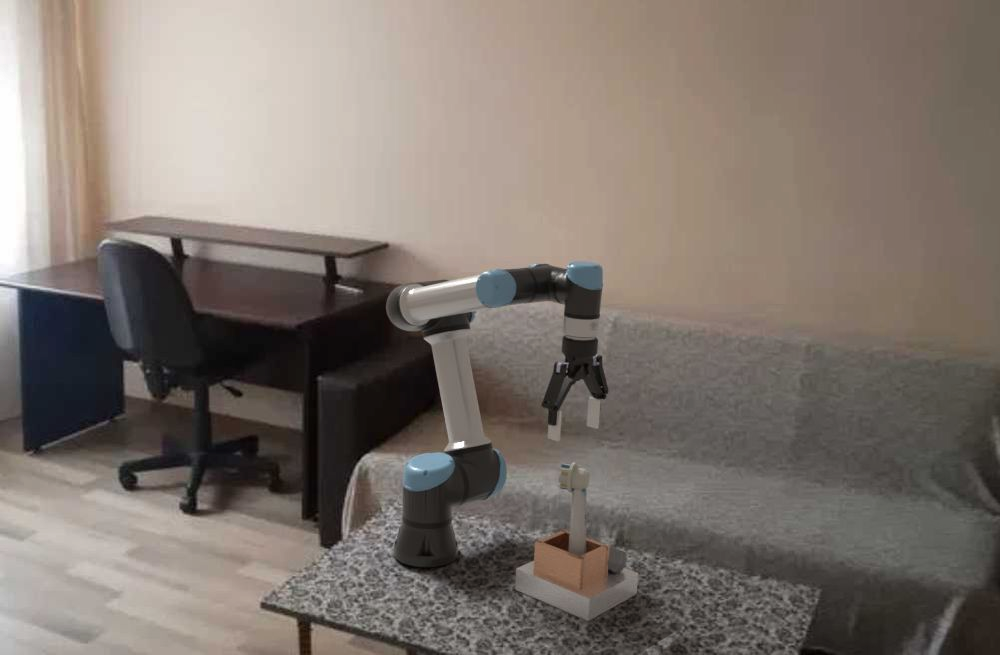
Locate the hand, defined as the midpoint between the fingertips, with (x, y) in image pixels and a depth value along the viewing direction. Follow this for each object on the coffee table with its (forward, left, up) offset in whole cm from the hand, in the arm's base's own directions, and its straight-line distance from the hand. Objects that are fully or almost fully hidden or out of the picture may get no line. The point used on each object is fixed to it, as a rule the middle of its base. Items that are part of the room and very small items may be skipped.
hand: (573, 433), depth 219 cm
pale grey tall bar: (+2, 0, -32) cm, 32 cm away
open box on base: (+2, +2, -36) cm, 37 cm away
